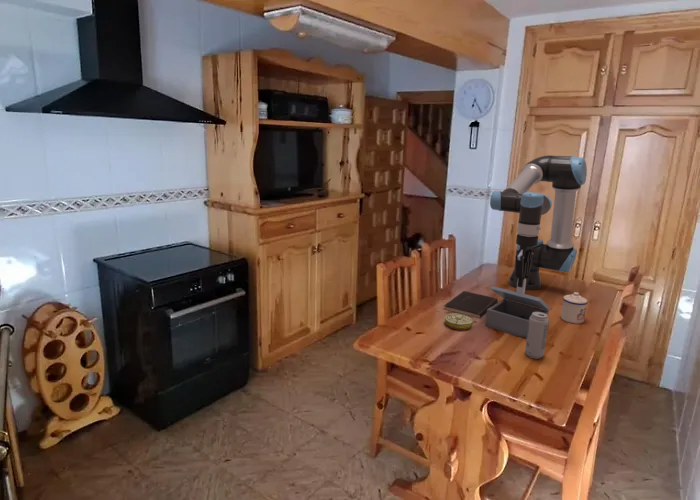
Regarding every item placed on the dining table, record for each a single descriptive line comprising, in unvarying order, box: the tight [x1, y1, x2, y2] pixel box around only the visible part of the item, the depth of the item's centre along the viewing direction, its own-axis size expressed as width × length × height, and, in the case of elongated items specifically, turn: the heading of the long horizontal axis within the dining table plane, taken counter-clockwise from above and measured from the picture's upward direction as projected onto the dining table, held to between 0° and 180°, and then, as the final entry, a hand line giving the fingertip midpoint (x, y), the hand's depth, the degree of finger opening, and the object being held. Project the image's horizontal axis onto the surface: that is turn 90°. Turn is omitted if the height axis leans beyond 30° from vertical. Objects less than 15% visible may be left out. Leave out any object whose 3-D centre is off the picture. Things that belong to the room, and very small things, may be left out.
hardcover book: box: [443, 290, 499, 319], centre depth 198 cm, size 16×23×2 cm
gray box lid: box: [490, 285, 551, 312], centre depth 176 cm, size 16×18×1 cm
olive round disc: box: [444, 313, 474, 331], centre depth 177 cm, size 10×11×4 cm
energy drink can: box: [524, 312, 550, 360], centre depth 153 cm, size 6×6×15 cm
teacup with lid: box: [560, 291, 588, 324], centre depth 186 cm, size 12×9×12 cm
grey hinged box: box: [485, 298, 550, 340], centre depth 177 cm, size 16×18×7 cm
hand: (520, 294), depth 174 cm, fingers closed
